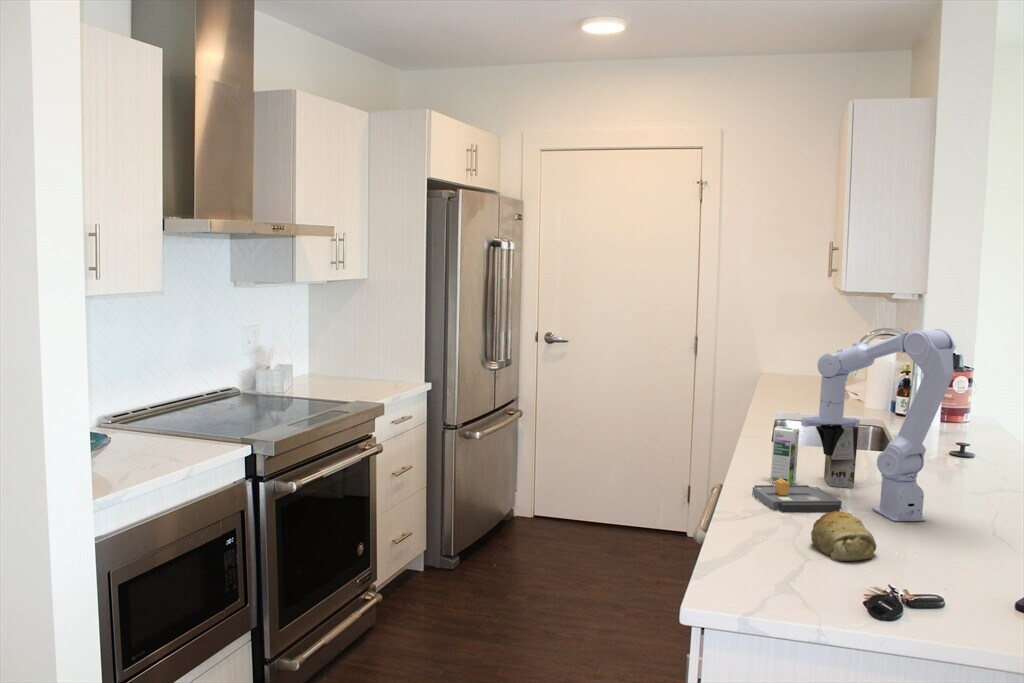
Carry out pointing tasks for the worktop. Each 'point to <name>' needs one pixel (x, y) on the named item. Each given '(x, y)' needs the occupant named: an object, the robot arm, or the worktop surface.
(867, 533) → the pastry
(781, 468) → the syrup box
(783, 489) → the knob
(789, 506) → the dark grey flat bars
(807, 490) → the panel
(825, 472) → the coffee box
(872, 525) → the worktop surface
